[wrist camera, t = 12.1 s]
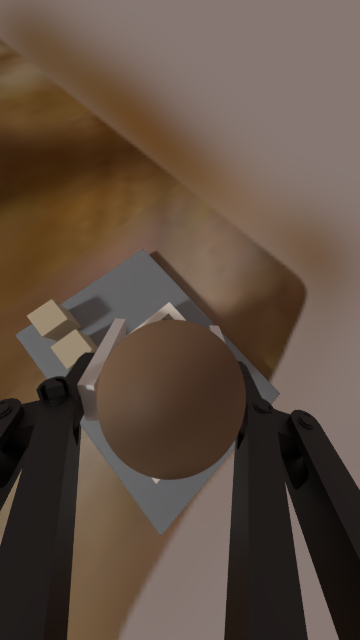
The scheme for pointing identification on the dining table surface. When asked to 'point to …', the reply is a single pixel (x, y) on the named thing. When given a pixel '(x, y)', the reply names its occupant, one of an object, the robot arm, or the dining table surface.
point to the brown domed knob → (171, 399)
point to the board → (138, 310)
